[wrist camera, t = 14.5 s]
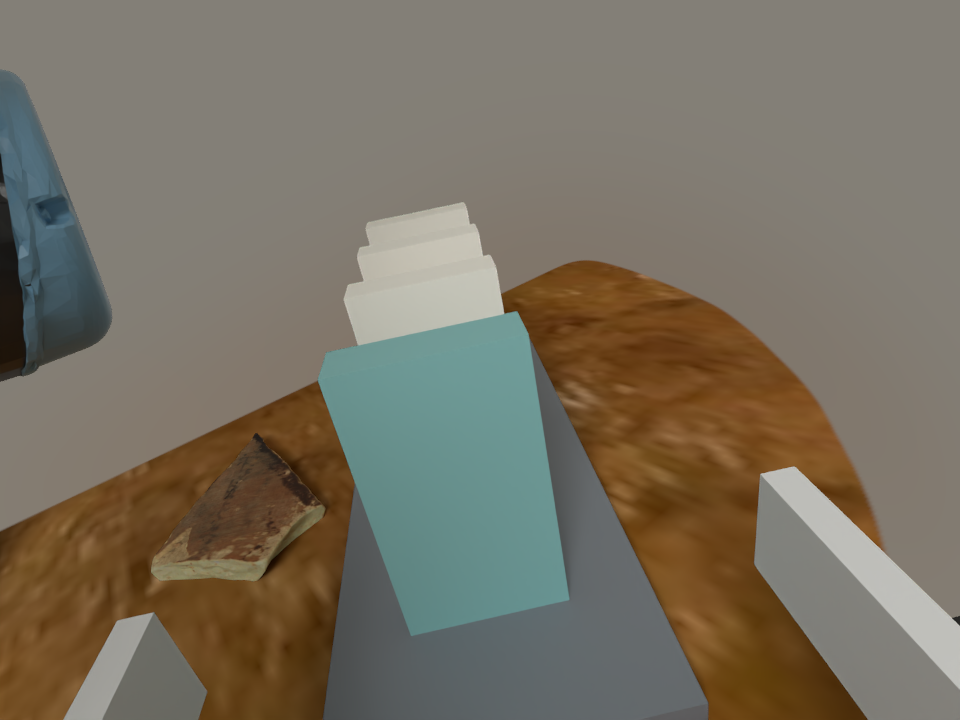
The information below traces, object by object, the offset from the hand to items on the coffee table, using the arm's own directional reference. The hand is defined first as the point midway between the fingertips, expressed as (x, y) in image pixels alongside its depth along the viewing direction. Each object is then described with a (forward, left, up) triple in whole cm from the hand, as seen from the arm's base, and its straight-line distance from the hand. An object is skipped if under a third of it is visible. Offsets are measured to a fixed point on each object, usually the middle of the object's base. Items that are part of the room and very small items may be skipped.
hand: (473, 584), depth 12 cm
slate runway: (0, +15, -9) cm, 17 cm away
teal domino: (0, +6, -8) cm, 10 cm away
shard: (-13, +16, -10) cm, 23 cm away
